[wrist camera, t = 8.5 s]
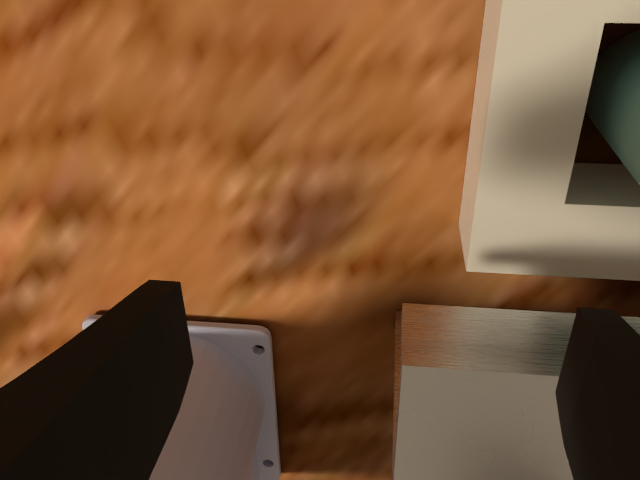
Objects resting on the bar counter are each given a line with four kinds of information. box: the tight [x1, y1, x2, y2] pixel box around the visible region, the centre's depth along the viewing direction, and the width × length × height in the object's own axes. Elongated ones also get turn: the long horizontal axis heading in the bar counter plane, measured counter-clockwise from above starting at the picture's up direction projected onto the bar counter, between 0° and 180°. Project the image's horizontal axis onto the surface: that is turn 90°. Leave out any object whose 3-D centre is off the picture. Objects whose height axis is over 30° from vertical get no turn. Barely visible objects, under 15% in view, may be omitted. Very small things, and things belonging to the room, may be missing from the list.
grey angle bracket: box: [392, 303, 640, 480], centre depth 19 cm, size 6×14×8 cm, turn 91°
